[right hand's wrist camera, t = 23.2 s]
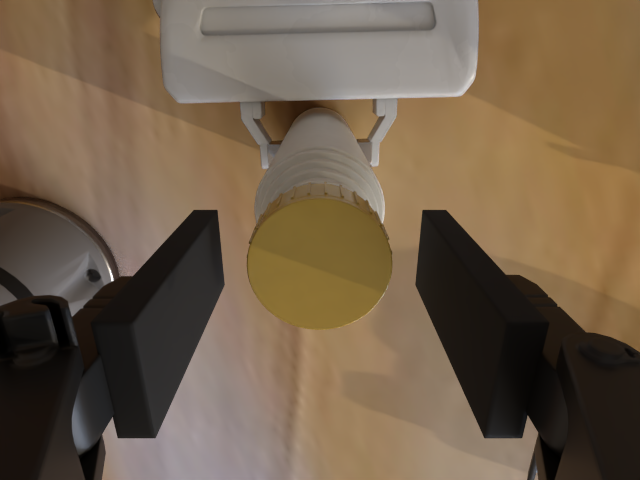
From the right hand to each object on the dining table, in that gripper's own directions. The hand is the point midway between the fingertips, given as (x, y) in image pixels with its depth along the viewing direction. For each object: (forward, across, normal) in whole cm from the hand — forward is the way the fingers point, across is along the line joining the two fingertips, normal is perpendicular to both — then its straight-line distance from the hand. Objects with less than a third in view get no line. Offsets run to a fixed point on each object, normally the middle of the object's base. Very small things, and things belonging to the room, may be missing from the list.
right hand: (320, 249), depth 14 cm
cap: (-1, 0, 0) cm, 1 cm away
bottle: (+24, 0, 0) cm, 24 cm away
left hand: (+17, 0, -1) cm, 18 cm away
